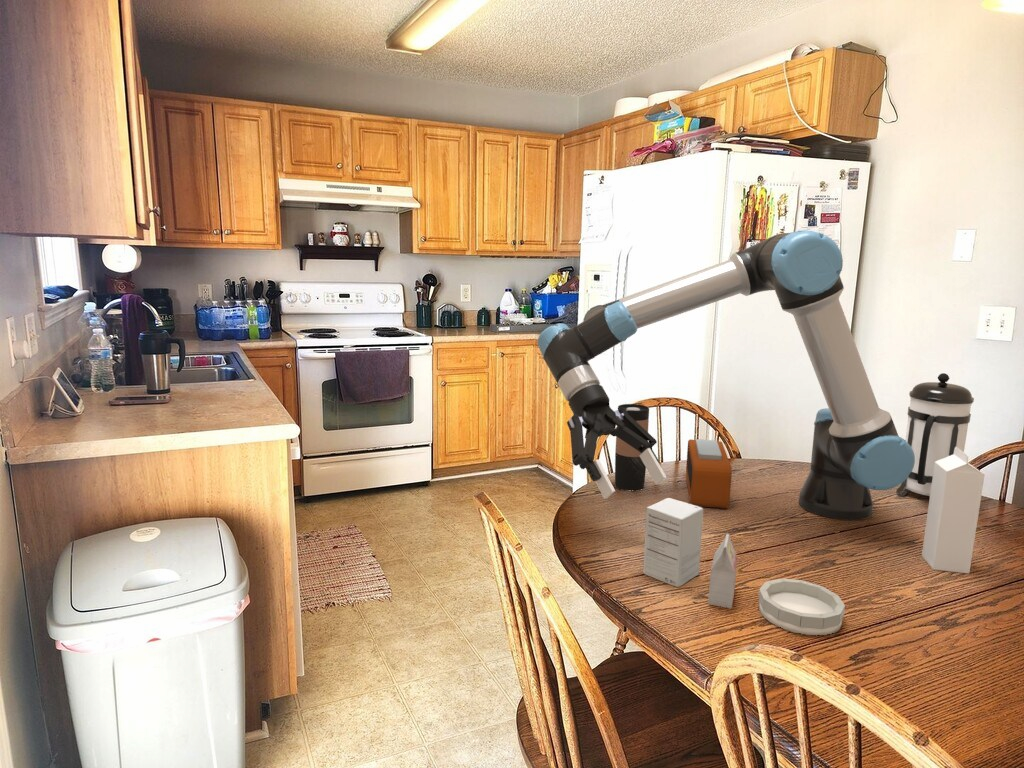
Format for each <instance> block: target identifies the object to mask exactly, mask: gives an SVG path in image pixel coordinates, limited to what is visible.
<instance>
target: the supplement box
mask: <svg viewBox="0 0 1024 768" xmlns="http://www.w3.org/2000/svg"><path fill="white" fill-rule="evenodd" d="M703 519H704V508H703V507H702V506H695V505H692V504H690V503H688V502H685V501H681V500H678V499H674V498H671V497H667V498H664V499H662V500H660V501H658V502H656V503H654V504H650V505H649V506H646V511H645V529H644V530H645V531H644V533H645V534H644V545H643V546H644V550H643V552H644V553H643V570H642V572H643V574H644V575H646V576H649V577H651V578H653V579H656V580H658V581H661V582H662V583H665V584H668V585H671V586H673V587H676V588H680V587H681V586H683V585H684V584H686V583H688V582H689V581H691V580H692V579H693V578H695V577H696V576H698V575H700V567H701V566H700V565H701V564H700V563H701V551H702V550H701V548H702V535H703V521H704V520H703Z"/></svg>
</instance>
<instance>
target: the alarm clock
mask: <svg viewBox="0 0 1024 768" xmlns="http://www.w3.org/2000/svg"><path fill="white" fill-rule="evenodd" d="M724 446H725V445H724V444H723V441H718V440H716V439H715V440H713V439H698V438H697V439H690V438H689V439H688V440H687V450H686V451H687V452H686V466H685V477H686V484H687V491H688V498H689V504H692V505H695V506H698V507H705V508H706V507H707V508H719V509H728V508H729V507H730V496H731V486H732V465H731V462H730V460H729V458H728V454H727V451H726V450H725V447H724Z"/></svg>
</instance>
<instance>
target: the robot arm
mask: <svg viewBox="0 0 1024 768" xmlns="http://www.w3.org/2000/svg"><path fill="white" fill-rule="evenodd" d="M843 261H844V260H843V255H842V252H841V250H840V247H839V246H838V244H837V243H836V242H835V241H834V240H833V239H832V238H831V237H830V236H828V235H826V234H824V233H821V232H817V231H813V230H806V229H805V230H797V231H792V232H785V233H779V234H778V233H777V234H775V235H773V236H771V237H768V238H765V239H764V240H762V241H759V242H758V243H756V244H754V245H752V246H749V247H747V248H744V249H742V250H739V251H736V252H734V253H732V254H731V256H730V258H729V259H728V260H725V261H723V262H720V263H716V264H714V265H712V266H711V265H710V266H708V267H705V268H703V269H700V270H697V271H694V272H692V273H689V274H686V275H683V276H681V277H678V278H674V279H672V280H669V281H665V282H663V283H661V284H657V285H656V286H653V287H650V288H647V289H644V290H641V291H638V292H635V293H633V294H630V295H627V296H625V297H622V298H618V299H617V300H614V301H609V302H607V303H605V304H598V305H594V306H593V307H590V308H589V310H587V311H586V313H585V314H584V317H583V321H582V322H580V323H579V324H577V325H574V326H573V327H571V328H570V327H569V326H568V325H567V324H566V323H562V322H561V323H556V324H555V325H550V326H548V327H546V328H545V329H544V330H542V332H541V333H540V334H539V336H538V338H537V346H538V349H539V352H540V353H541V355H542V360H544V362H545V363H546V365H547V368H548V369H549V371H550V372H551V375H552V376H553V379H554V380H555V381H556V383H557V386H558V387H559V389H560V391H561V393H562V394H563V397H564V399H565V400H566V402H568V406H569V408H570V410H571V412H572V416H571V417H570V418H569V419H568V421H566V425H567V427H568V429H569V432H570V434H569V435H570V446H571V458H572V462H571V463H572V464H573V465H574V466H579V468H580V469H581V470H585V469H586V471H587V474H588V476H589V478H591V480H592V482H595V484H596V486H597V487H598V490H599V491H600V493H601V495H602V497H603V499H608V498H609V497H611V495H612V494H614V493H615V492H616V490H615V488H614V486H613V484H612V482H611V480H610V478H609V476H608V475H607V473H606V471H605V469H604V467H603V465H602V464H601V462H600V460H599V459H595V455H596V448H597V442H598V438H600V437H602V436H610V435H611V437H616V436H617V437H618V438H620V439H621V440H623V441H624V442H626V443H627V444H629V445H630V446H632V447H633V448H635V449H636V450H638V451H639V452H641V453H642V454H641V455H639V456H640V458H641V460H642V461H643V463H644V465H645V467H646V470H647V472H648V474H649V476H650V478H651V479H652V480H653V482H654V485H659V484H661V483H662V482H663V481H664V480H666V479H667V478H668V477H667V476H666V473H665V471H664V470H663V469H662V466H661V465H660V460H659V458H658V457H657V455H656V454H655V452H654V450H653V447H654V446H655V445H656V444H657V440H656V438H655V437H654V436H653V435H652V434H650V433H649V431H648V432H647V431H646V430H645V429H644V428H643V427H641V426H640V425H639V424H638V423H637V422H636V421H635V420H634V419H633V418H632V417H631V416H630V415H629V414H628V413H627V411H626V410H625V408H624V407H620V408H619V409H618V408H617V410H613V409H612V408H611V407H610V397H609V396H608V394H607V392H606V391H605V389H604V387H603V386H602V385H601V382H600V379H599V378H598V376H597V375H596V372H595V371H594V370H593V368H592V366H591V365H590V363H589V361H591V360H593V359H595V358H596V357H597V356H599V355H601V354H603V353H604V352H606V351H608V350H609V349H611V348H613V347H615V346H617V345H618V344H620V343H622V342H626V341H627V339H629V338H630V337H632V336H633V335H634V334H636V333H637V331H638V329H640V328H643V327H644V328H645V327H646V326H649V325H652V324H654V323H657V322H658V323H659V322H661V321H664V320H667V319H669V318H674V317H675V316H679V315H681V314H684V313H687V312H690V311H694V310H696V309H700V308H702V307H704V306H707V305H710V304H714V303H716V302H719V301H722V300H726V299H728V298H730V297H731V298H732V297H733V296H736V295H742V296H745V297H748V296H750V295H751V296H752V295H754V294H756V293H760V292H761V293H762V292H767V291H774V292H775V294H776V297H777V300H778V303H779V304H780V307H781V309H782V311H784V312H785V313H788V314H791V315H792V317H793V318H794V321H795V323H796V327H797V329H798V332H799V334H800V337H801V339H802V342H803V344H804V347H805V350H806V352H807V355H808V357H809V360H810V362H811V365H812V368H813V370H814V371H813V372H815V375H816V376H815V377H816V378H817V381H818V384H819V386H820V389H821V392H822V394H823V397H824V399H825V402H826V405H827V408H820V409H819V410H818V411H817V412H816V415H815V420H814V423H813V425H814V429H813V439H812V440H813V441H812V449H811V460H810V468H809V469H810V470H809V473H808V475H807V477H806V479H805V481H804V483H803V485H802V487H801V490H800V491H799V495H798V496H799V497H798V504H799V506H800V507H801V508H803V509H805V510H806V511H808V512H810V513H813V514H815V515H818V516H821V517H826V518H832V519H836V520H845V521H846V520H849V521H857V520H858V521H859V520H865V519H869V518H870V517H872V514H873V510H874V509H873V507H874V502H873V500H872V495H871V490H872V491H888V490H891V489H894V488H896V487H899V486H901V483H903V482H904V481H905V480H906V479H907V478H908V475H909V474H910V472H912V470H913V468H914V463H915V455H914V452H913V449H912V448H911V446H910V445H909V444H908V443H907V442H906V440H905V438H903V437H902V436H900V435H899V433H898V431H897V428H896V426H895V423H894V421H893V418H892V414H891V413H890V412H888V411H887V410H884V409H882V408H880V406H879V405H878V401H877V399H876V397H875V393H874V390H873V388H872V385H871V383H870V380H869V377H868V375H867V372H866V369H865V366H864V364H863V361H862V358H861V356H860V353H859V351H858V348H857V345H856V343H855V342H856V341H855V339H854V336H853V334H852V331H851V328H850V327H849V324H848V321H847V317H846V315H845V311H844V310H843V307H842V305H841V302H840V296H841V295H842V293H843V291H844V290H845V287H844V284H843V281H842V278H841V276H840V275H841V274H842V271H843V265H844V264H843V263H844V262H843ZM583 428H584V429H586V430H585V435H584V431H583ZM584 439H585V440H584ZM584 442H585V443H584ZM641 445H642V446H643V447H642V446H641Z"/></svg>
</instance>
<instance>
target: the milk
mask: <svg viewBox="0 0 1024 768" xmlns="http://www.w3.org/2000/svg"><path fill="white" fill-rule="evenodd" d="M984 482H985V473H984V472H982V471H980V470H979V469H978V468H977V467H975V466H974V465H972V464H971V463H969V454H967V453H966V452H965V451H964V452H963V451H961V450H960V449H958V448H957V447H955V448H954V454H953V455H951V456H948V457H946V458H943V459H941V460H938V461H936V462H935V464H934V471H933V478H932V486H931V493H930V496H929V501H928V508H927V516H926V520H925V521H926V523H925V530H924V537H923V543H922V551H921V556H922V558H923V559H924V560H925V563H927V564H928V565H929V567H930V568H931V569H932V570H933V571H944V572H951V573H952V572H953V573H959V574H970V572H971V566H972V559H973V553H974V547H975V539H976V533H977V526H978V520H979V519H978V518H979V513H980V509H981V508H980V506H981V501H982V495H983V494H982V493H983V488H984V487H983V486H984Z"/></svg>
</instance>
